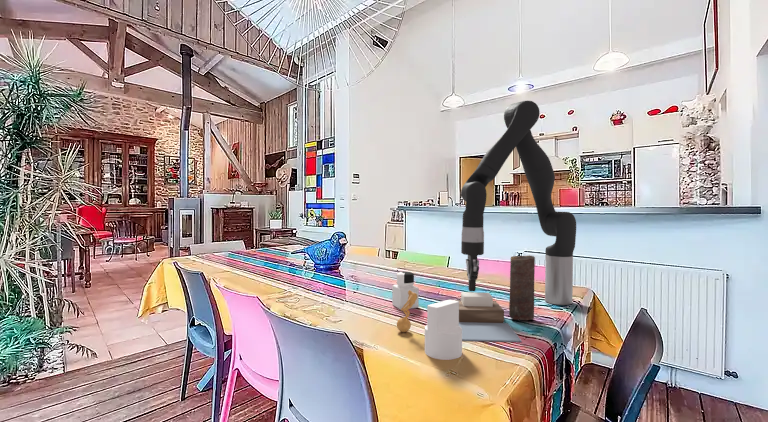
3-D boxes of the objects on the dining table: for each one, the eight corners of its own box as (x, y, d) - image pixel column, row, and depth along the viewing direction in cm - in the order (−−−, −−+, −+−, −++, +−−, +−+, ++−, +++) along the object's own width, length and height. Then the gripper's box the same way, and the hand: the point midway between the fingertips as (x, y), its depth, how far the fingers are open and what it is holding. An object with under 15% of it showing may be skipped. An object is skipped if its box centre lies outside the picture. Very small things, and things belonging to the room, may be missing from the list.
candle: (536, 324, 118) (536, 257, 118) (510, 322, 120) (511, 257, 119) (531, 317, 126) (532, 254, 125) (507, 315, 127) (508, 254, 127)
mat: (453, 323, 119) (453, 321, 119) (507, 324, 118) (507, 323, 118) (459, 340, 104) (459, 339, 104) (521, 342, 103) (521, 340, 103)
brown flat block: (452, 311, 132) (453, 300, 132) (495, 312, 131) (495, 300, 131) (456, 322, 120) (457, 309, 120) (503, 323, 119) (504, 310, 119)
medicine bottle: (410, 303, 143) (410, 270, 143) (418, 307, 137) (418, 273, 136) (392, 304, 141) (392, 271, 141) (399, 309, 134) (399, 274, 134)
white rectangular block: (461, 301, 130) (461, 292, 130) (488, 301, 129) (488, 292, 129) (463, 306, 124) (463, 296, 124) (492, 306, 123) (492, 297, 123)
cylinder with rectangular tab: (440, 343, 103) (440, 297, 102) (469, 352, 96) (469, 303, 96) (417, 352, 96) (417, 303, 96) (446, 363, 90) (446, 310, 90)
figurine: (403, 326, 116) (403, 286, 116) (422, 329, 113) (422, 288, 113) (390, 335, 108) (390, 291, 108) (410, 338, 106) (410, 294, 105)
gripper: (487, 242, 128) (486, 295, 128) (480, 238, 141) (479, 287, 142) (464, 242, 129) (463, 294, 129) (459, 238, 142) (458, 286, 142)
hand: (471, 290), depth 135 cm, fingers closed
